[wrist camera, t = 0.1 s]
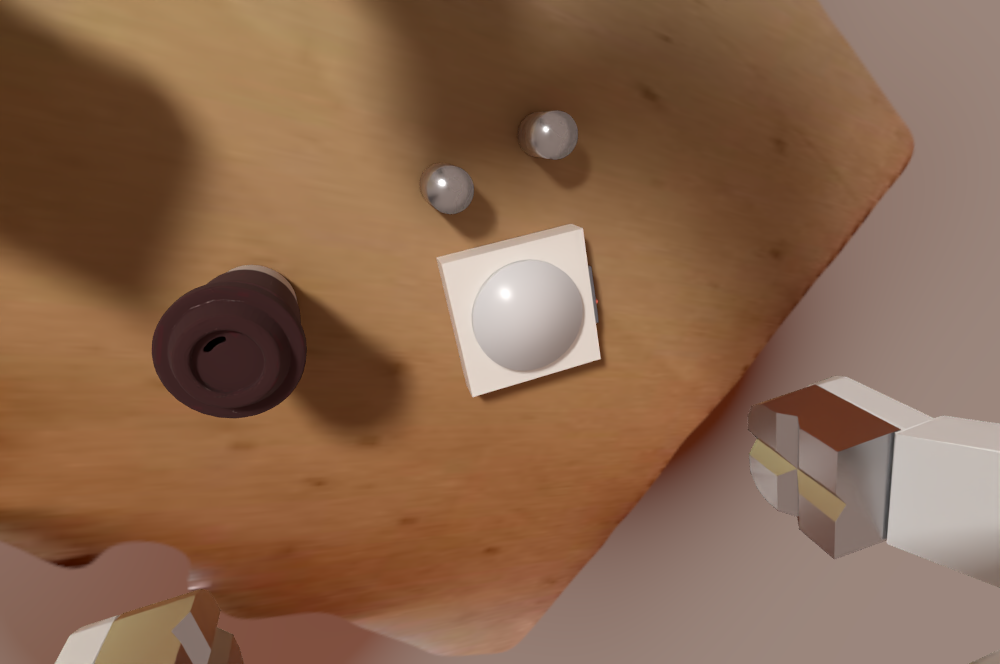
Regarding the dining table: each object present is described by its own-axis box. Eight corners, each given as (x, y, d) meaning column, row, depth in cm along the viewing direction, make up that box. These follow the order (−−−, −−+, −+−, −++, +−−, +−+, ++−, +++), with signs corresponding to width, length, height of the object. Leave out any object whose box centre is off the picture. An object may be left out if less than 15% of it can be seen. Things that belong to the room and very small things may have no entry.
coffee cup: (315, 351, 56) (308, 423, 42) (202, 356, 53) (155, 435, 39) (309, 248, 52) (299, 290, 39) (188, 249, 50) (132, 294, 36)
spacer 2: (513, 116, 53) (530, 115, 49) (554, 108, 54) (574, 106, 50) (521, 161, 55) (538, 163, 50) (560, 152, 56) (580, 154, 51)
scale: (436, 257, 56) (443, 266, 52) (577, 222, 58) (593, 228, 55) (466, 385, 61) (474, 401, 57) (594, 347, 63) (610, 360, 60)
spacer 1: (414, 167, 53) (422, 171, 48) (457, 158, 53) (468, 161, 49) (425, 211, 54) (433, 218, 49) (466, 201, 55) (478, 208, 50)
